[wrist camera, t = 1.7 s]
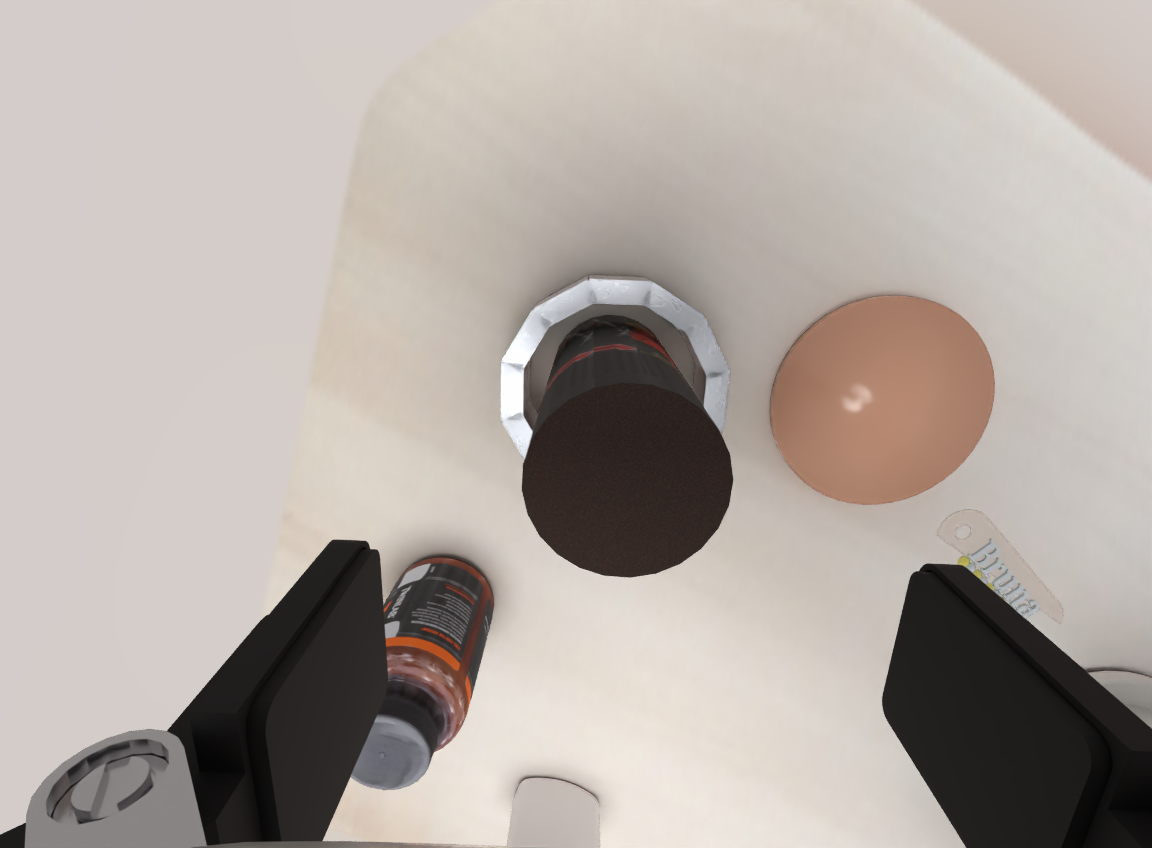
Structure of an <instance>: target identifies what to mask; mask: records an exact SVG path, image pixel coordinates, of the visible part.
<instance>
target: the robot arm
mask: <svg viewBox="0 0 1152 848" xmlns="http://www.w3.org/2000/svg"><path fill="white" fill-rule="evenodd" d="M387 686H388V666H387V651H386V637H385V623H384V608H383V594H382V580H381V566H380V555H379V552H378V550H375V549H370V547H369V544H368V542H367V541H356V540H332V541H331V542H330V543H329V544H328V545H327V546H326V547H325V549H324V550H323V551H322V552H321V553H320V555H319V556H318V557H317V558H316V559H315V560H314V562H313V563H312V564H311V565H310V566H309V568H308V569H307V570H306V571H305V572H304V574H303V575H302V576H301V577H300V578H299V580H298V581H297V582H296V583H295V584H294V586H293V587H292V588H291V589H290V590H289V591H288V593H287V594H286V595H285V596H284V597H283V599H282V600H281V601H280V602H279V603H278V605H277V606H276V607H275V608H274V609H273V611H272V612H271V613H270V614H269V615H266V616H265V617H264V618H263V619H262V620H261V621H260V622H259V623H258V624H257V625H256V627H255V628H254V629H253V630H252V631H251V633H250V634H249V635H248V636H247V637H246V638H245V640H244V641H243V642H242V643H241V644H240V645H239V647H238V648H237V649H236V650H235V651H234V653H233V654H232V655H231V656H230V657H229V658H228V660H227V661H226V662H225V663H224V664H223V665H222V667H221V668H220V669H219V670H218V671H217V673H216V674H215V675H214V676H213V678H211V680H210V681H209V682H208V683H207V685H206V686H205V687H204V688H203V689H202V690H201V692H200V693H199V694H198V695H197V696H196V698H195V699H194V700H193V701H192V702H191V703H190V705H189V706H188V707H187V708H186V709H185V710H184V711H183V713H182V714H181V715H180V716H179V717H178V719H177V720H176V721H175V722H174V723H173V724H172V726H171V727H170V728H169V729H168V731H162V730H153V729H146V730H138V731H129V732H126V733H123V734H120V735H116V736H113V737H110V738H107V739H104V740H102V741H100V742H98V743H96V744H94V745H92V746H89V747H87V748H85V749H83V750H82V751H80V752H79V753H77V754H76V755H74V756H73V757H71V758H70V759H68V760H67V761H65V762H64V763H62V764H61V765H60V766H59V767H58V768H57V769H56V770H54V771H53V772H52V773H51V774H50V775H49V776H48V777H47V778H46V779H45V780H44V781H43V782H42V784H41V785H40V786H39V788H38V789H37V791H36V792H35V793H34V795H33V796H32V798H31V801H30V804H29V807H28V811H27V815H26V823H24V824H22V825H20V826H18V827H16V828H14V829H11V830H10V831H7V832H5V833H3V834H1V835H0V848H541V847H514V846H486V845H458V844H430V843H391V842H351V841H323V838H324V836H325V834H326V831H327V829H328V827H329V825H330V822H331V820H332V818H333V815H334V813H335V811H336V809H337V806H338V804H339V802H340V799H341V797H342V795H343V792H344V790H345V788H346V786H347V783H348V781H349V779H350V776H351V774H352V772H353V770H354V767H355V765H356V763H357V760H358V758H359V756H360V754H361V751H362V749H363V747H364V744H365V742H366V740H367V737H368V735H369V733H370V731H371V728H372V726H373V724H374V721H375V719H376V717H377V715H378V712H379V710H380V708H381V705H382V703H383V701H384V698H385V695H386V691H387ZM882 706H883V711H884V714H885V717H886V719H887V721H888V723H889V724H890V726H891V727H892V729H893V731H894V732H895V734H896V736H897V737H898V739H899V740H900V742H901V744H902V745H903V747H904V748H905V750H906V752H907V753H908V755H909V756H910V758H911V760H912V761H913V763H914V764H915V766H916V768H917V769H918V771H919V772H920V774H921V776H922V777H923V779H924V780H925V782H926V784H927V785H928V787H929V788H930V790H931V792H932V793H933V795H934V796H935V798H936V800H937V801H938V803H939V805H940V806H941V808H942V809H943V811H944V813H945V814H946V816H947V817H948V819H949V821H950V822H951V824H952V825H953V827H954V829H955V830H956V832H957V833H958V835H959V837H960V838H961V840H962V841H963V843H964V845H965V846H966V848H1152V678H1150V677H1148V676H1145V675H1140V674H1136V673H1131V672H1124V671H1099V672H1090V673H1087V672H1086V671H1085V670H1084V669H1083V668H1082V667H1080V666H1079V665H1078V664H1077V663H1076V662H1075V661H1073V660H1072V659H1071V658H1070V657H1069V656H1068V655H1067V654H1065V653H1064V652H1063V651H1062V650H1061V649H1060V648H1058V647H1057V646H1056V645H1055V644H1054V643H1053V642H1052V641H1050V640H1049V639H1048V638H1047V637H1046V636H1045V635H1044V634H1042V633H1041V632H1040V631H1039V630H1038V629H1037V628H1035V627H1034V626H1033V625H1032V624H1031V623H1030V622H1029V621H1027V620H1026V619H1025V618H1024V617H1023V616H1022V615H1020V614H1019V613H1018V612H1017V611H1016V610H1015V609H1014V608H1012V607H1011V606H1010V605H1009V604H1008V603H1007V602H1006V601H1004V600H1003V599H1002V598H1001V597H1000V596H999V595H997V594H996V593H995V592H994V591H993V590H992V589H991V588H989V587H988V586H987V585H986V584H985V583H984V582H982V581H981V580H980V579H979V578H978V577H977V576H976V575H974V574H973V573H972V572H971V571H970V570H969V569H968V568H966V567H964V566H963V565H950V564H925V565H923V566H922V568H921V569H920V571H919V572H918V571H916V572H914V573H913V574H912V575H911V577H910V580H909V584H908V589H907V593H906V597H905V602H904V606H903V610H902V614H901V619H900V623H899V627H898V632H897V636H896V640H895V645H894V649H893V653H892V657H891V662H890V666H889V670H888V675H887V679H886V683H885V687H884V692H883V697H882Z"/></svg>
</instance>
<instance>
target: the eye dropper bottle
mask: <svg viewBox="0 0 1152 848" xmlns="http://www.w3.org/2000/svg"><path fill="white" fill-rule="evenodd" d="M507 846H514V847H541V848H600V807H599V803H598V801H597V799H596V798H595V797H594V796H593V795H592V794H590V793H589V792H587V791H585V790H584V789H582V788H580V787H578V786H576V785H573V784H571V783H568V782H565V781H561V780H557V779H550V778H528V779H525V780H523V781H522V782H521V784H520V785H519V787H518V789H517V792H516V794H515V797H514V799H513V803H512V811H511V818H510V825H509V832H508V840H507Z"/></svg>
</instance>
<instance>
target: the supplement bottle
mask: <svg viewBox="0 0 1152 848" xmlns="http://www.w3.org/2000/svg"><path fill="white" fill-rule="evenodd" d="M493 607H494V602H493V596H492V592H491V590H490V587H489V585H488V583H487V582H486V580H485V579H484V577H483V576H482V575H481V574H480V573H479V572H478V571H477V570H475V569H474V568H473V567H471V566H470V565H468V564H466V563H464V562H461V561H459V560H456V559H451V558H443V557H440V558H439V557H437V558H431V559H426V560H423V561H420V562H418V563H416V564H414V565H413V566H411V567H410V568H408V569H407V570H406V571H405V572H404V573H403V574H402V576H401V577H400V579H399V580H398V581H397V582H396V584H395V586H394V588H393V590H392V591H391V593H390V595H389V597H388V598H387V600H386V602H385V604H384V605H383V608H384V623H385V637H386V651H387V666H388V686H387V691H386V695H385V698H384V701H383V703H382V705H381V708H380V710H379V712H378V715H377V717H376V719H375V721H374V724H373V726H372V728H371V731H370V733H369V735H368V737H367V740H366V742H365V744H364V747H363V749H362V751H361V754H360V756H359V758H358V760H357V763H356V765H355V767H354V770H353V772H352V774H351V776H350V777H351V778H353V779H354V780H356V781H357V782H359V783H361V784H363V785H365V786H367V787H371V788H376V789H382V790H395V789H401V788H404V787H407V786H410V785H412V784H413V783H415V782H417V781H418V780H419V779H420V778H421V777H422V776H423V775H424V774H425V772H426V771H427V769H428V767H429V764H430V761H431V758H432V755H433V753H434V752H436V751H438V750H440V749H441V748H443V747H444V746H445V745H447V744H448V743H449V742H450V741H452V739H453V738H454V737H455V736H456V735H457V733H458V732H459V730H460V728H461V727H462V725H463V722H464V720H465V718H466V715H467V712H468V708H469V704H470V700H471V698H472V693H473V690H474V686H475V682H476V678H477V674H478V671H479V667H480V663H481V659H482V655H483V652H484V648H485V643H486V640H487V636H488V632H489V629H490V624H491V620H492V614H493Z"/></svg>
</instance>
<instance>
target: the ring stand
mask: <svg viewBox="0 0 1152 848" xmlns="http://www.w3.org/2000/svg"><path fill="white" fill-rule="evenodd" d="M594 303H596V304H621V305H645V306H646V307H648V308H649V309H651V310H652V311H654V312H655V313H657V314H658V315H660V316H661V317H663V318H664V319H666V320H668V321H669V322H671V323H672V324H673V325H674V327H675V328H676V329H677V330H678V331H679V332H680V333H681V334H682V336H683V338H684V340H685V342H686V344H687V346H688V349H689V351H690V353H691V355H692V357H693V359H694V361H695V371H694V382H693V392H694V393H695V395H696V396H697V398H698V399H699V401H700V402H701V404H702V405H703V407H704V408H705V410H706V411H707V413H708V414H709V416H710V417H711V419H712V420H713V422H714V423H715V424H716V426H717V427H718V429H719V430H720V433H722V432H723V430H722V429H724V424H725V415H726V407H727V398H728V389H729V381H730V369H729V367H728V364H727V362H726V360H725V358H724V356H723V354H722V351H721V349H720V347H719V345H718V343H717V341H716V339H715V336H714V334H713V332H712V330H711V328H710V326H709V323H708V321H707V319H706V317H705V316H704V315H703V314H701V313H700V312H698V311H697V310H695V309H694V308H692V307H691V306H689V305H688V304H686V303H685V302H683V301H682V300H680V299H679V298H677V297H675V296H674V295H672V294H671V293H669V292H668V291H666V290H665V289H663V288H662V287H660V286H659V285H657V284H656V283H654V282H653V281H651V280H650V279H648V278H646V277H628V276H603V275H589V277H588V276H586V277H584V278H582V279H580V280H578V281H576V282H575V283H573V284H571V285H569V286H567V287H565V288H563V289H562V290H560V291H558V292H556V293H554V294H551V295H550V296H549V297H547V298H545V299H543V300H541V301H539V302H538V303H537V304H536V306H535V307H534V308H533V309H532V311H531V312H530V314H529V316H528V317H527V319H526V321H525V322H524V324H523V326H522V327H521V329H520V331H519V332H518V334H517V336H516V337H515V339H514V341H513V342H512V344H511V346H510V347H509V349H508V351H507V352H506V354H505V356H504V357H503V359H502V362H501V420H502V421H501V422H502V423H503V425H504V427H505V428H506V430H507V432H508V434H509V435H510V437H511V439H512V440H513V442H514V444H515V445H516V447H517V449H518V451H519V452H520V454H521V456H522V457H523V459H524V460H525V457H526V453H527V450H528V447H529V443H530V440H531V437H532V433H533V430H534V427H535V423H536V420H537V417H538V413H537V411H536V409H535V407H534V406H533V404H532V402H531V400H530V358H531V356H532V354H533V353H534V351H535V349H536V348H537V346H538V344H539V343H540V341H541V340H542V338H543V336H544V335H545V333H546V331H547V330H548V328H549V327H550V326H552V325H554V324H556V323H558V322H560V321H562V320H563V319H565V318H567V317H569V316H571V315H573V314H575V313H577V312H578V311H580V310H582V309H584V308H586V307H588V306H590V305H592V304H594Z"/></svg>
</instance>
